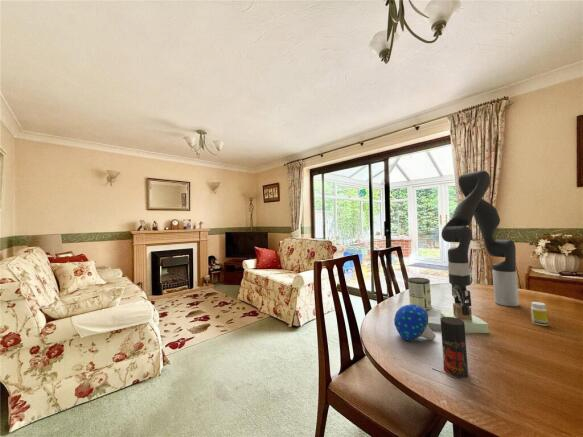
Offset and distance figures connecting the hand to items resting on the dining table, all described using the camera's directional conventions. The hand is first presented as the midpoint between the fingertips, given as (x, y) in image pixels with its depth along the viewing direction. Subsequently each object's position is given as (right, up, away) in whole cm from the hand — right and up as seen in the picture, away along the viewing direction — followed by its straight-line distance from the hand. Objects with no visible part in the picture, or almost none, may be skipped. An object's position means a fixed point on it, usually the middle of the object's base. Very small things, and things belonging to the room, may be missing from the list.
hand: (461, 311), depth 98 cm
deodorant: (-23, -7, -29) cm, 38 cm away
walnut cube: (0, -3, 0) cm, 3 cm away
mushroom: (-25, -7, -9) cm, 27 cm away
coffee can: (-4, -7, +24) cm, 26 cm away
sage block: (0, -7, 0) cm, 7 cm away
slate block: (-11, -7, 0) cm, 13 cm away
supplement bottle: (+32, -5, -1) cm, 32 cm away
